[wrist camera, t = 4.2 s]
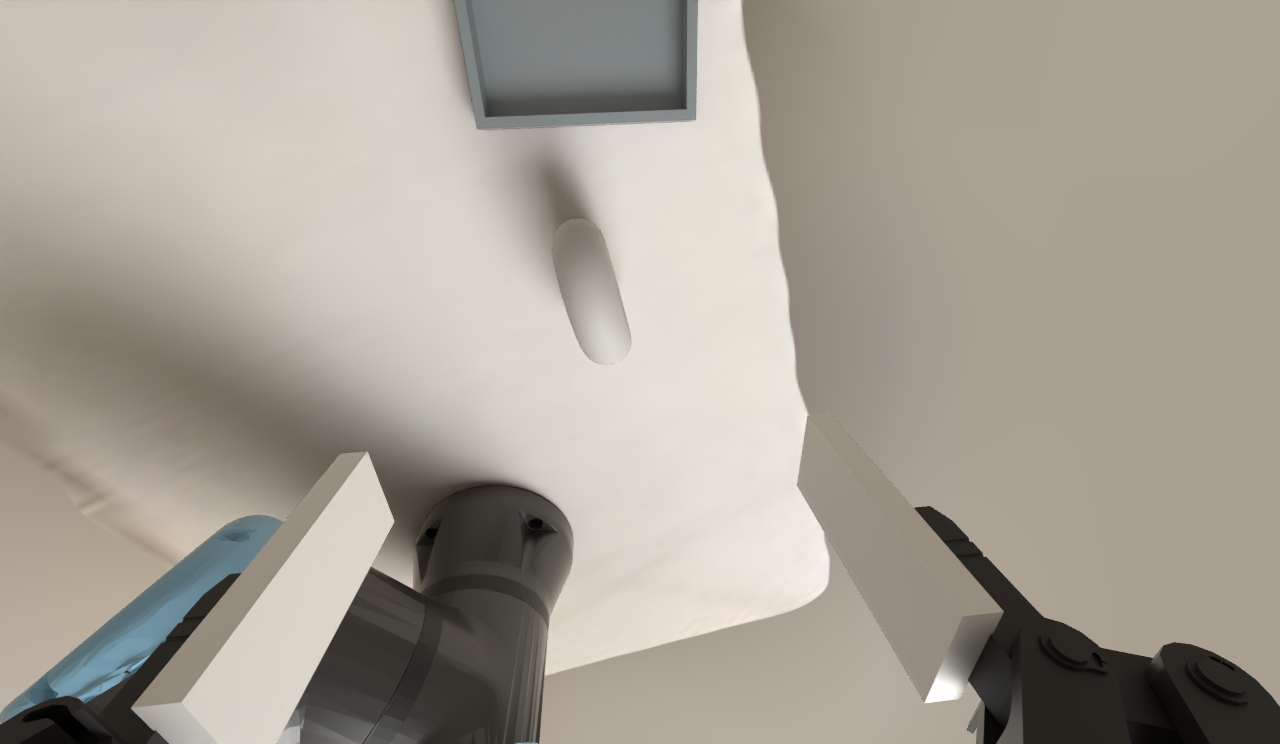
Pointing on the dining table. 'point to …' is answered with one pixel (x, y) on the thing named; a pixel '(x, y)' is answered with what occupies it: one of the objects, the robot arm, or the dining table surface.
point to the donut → (591, 291)
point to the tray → (579, 61)
